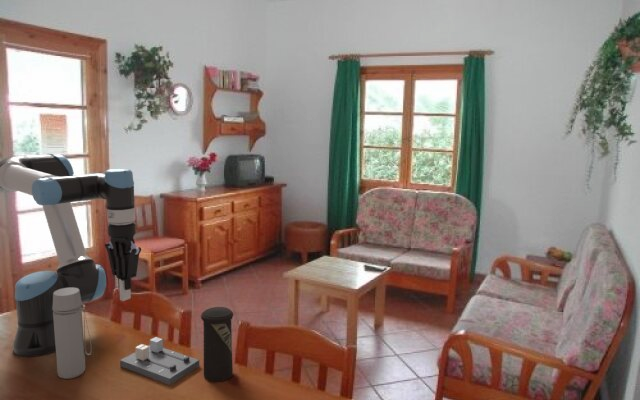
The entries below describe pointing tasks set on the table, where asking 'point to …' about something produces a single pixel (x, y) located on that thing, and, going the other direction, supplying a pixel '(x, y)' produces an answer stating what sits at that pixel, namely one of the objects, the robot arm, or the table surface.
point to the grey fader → (156, 344)
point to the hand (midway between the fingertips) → (125, 299)
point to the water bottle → (69, 332)
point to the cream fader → (142, 352)
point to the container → (217, 344)
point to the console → (161, 365)
